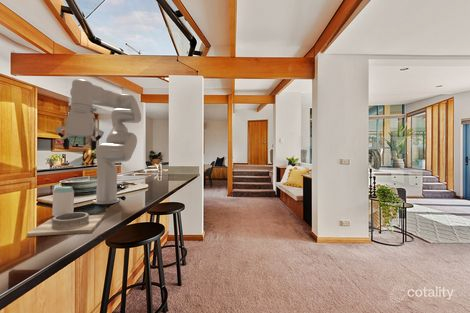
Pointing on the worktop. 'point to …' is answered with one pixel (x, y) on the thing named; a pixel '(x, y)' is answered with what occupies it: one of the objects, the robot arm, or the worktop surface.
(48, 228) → the base
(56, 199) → the can
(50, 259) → the worktop surface
